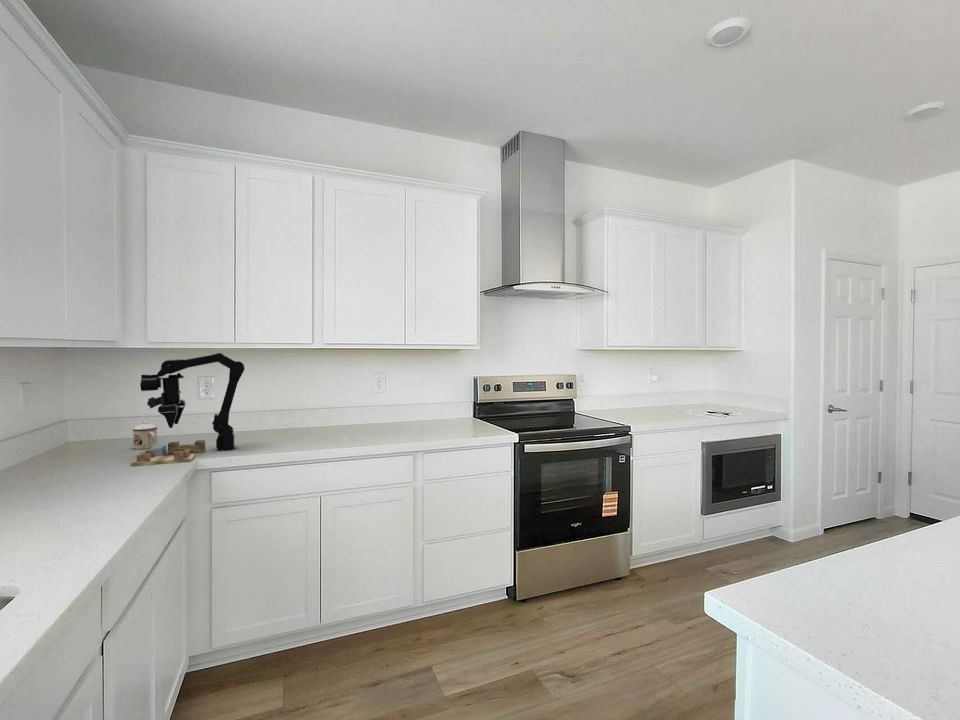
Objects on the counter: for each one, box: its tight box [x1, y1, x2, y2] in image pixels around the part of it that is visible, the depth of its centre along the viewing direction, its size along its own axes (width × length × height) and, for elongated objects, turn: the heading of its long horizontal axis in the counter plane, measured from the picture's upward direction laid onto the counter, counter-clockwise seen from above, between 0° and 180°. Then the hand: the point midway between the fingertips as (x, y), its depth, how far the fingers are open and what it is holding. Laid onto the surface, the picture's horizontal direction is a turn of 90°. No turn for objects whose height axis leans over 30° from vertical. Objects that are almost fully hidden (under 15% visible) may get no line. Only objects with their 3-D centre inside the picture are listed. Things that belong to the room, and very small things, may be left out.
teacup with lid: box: [132, 420, 158, 450], centre depth 208 cm, size 12×9×12 cm
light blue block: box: [149, 444, 167, 456], centre depth 194 cm, size 4×8×4 cm, turn 22°
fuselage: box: [167, 439, 206, 456], centre depth 198 cm, size 13×4×5 cm, turn 112°
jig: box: [129, 448, 197, 467], centre depth 185 cm, size 20×9×4 cm, turn 112°
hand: (173, 425), depth 197 cm, fingers open, 9 cm apart
